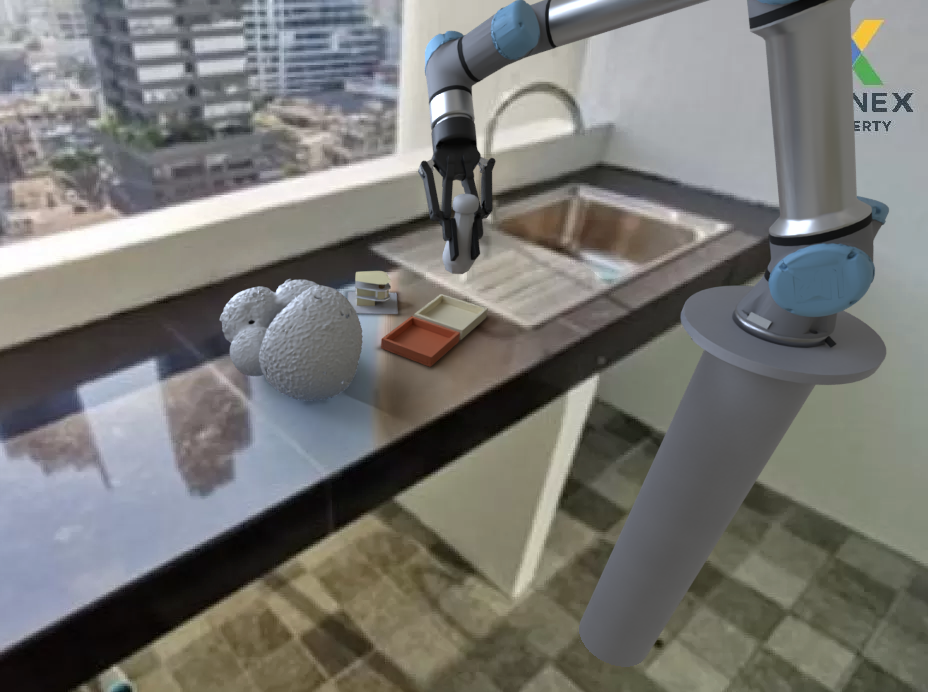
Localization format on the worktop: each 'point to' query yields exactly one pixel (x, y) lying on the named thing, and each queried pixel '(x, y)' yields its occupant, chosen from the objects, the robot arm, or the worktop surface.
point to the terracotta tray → (420, 340)
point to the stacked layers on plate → (373, 294)
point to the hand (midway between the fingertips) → (465, 257)
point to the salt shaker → (462, 234)
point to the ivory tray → (453, 314)
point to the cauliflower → (295, 338)
